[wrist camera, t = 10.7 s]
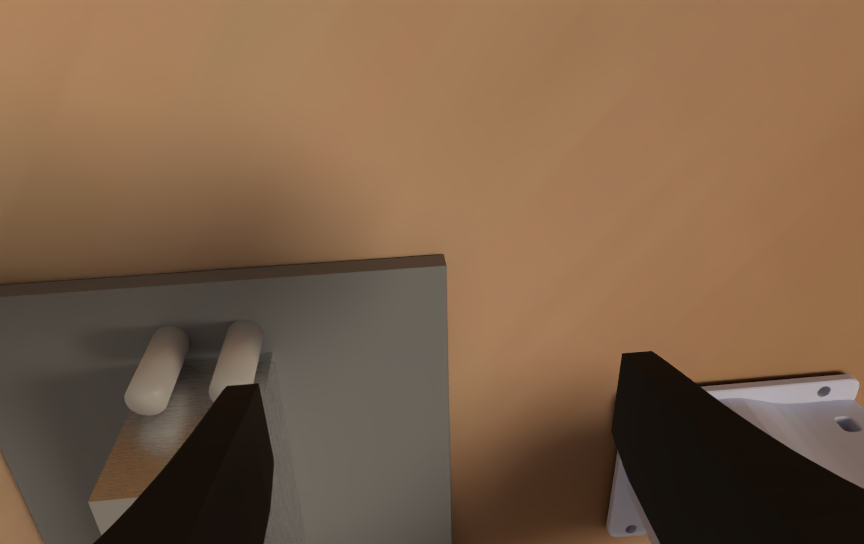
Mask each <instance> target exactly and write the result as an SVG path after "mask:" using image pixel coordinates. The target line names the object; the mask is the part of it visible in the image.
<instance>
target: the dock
mask: <svg viewBox="0 0 864 544" xmlns="http://www.w3.org/2000/svg"><path fill="white" fill-rule="evenodd" d="M267 352H273V356H274V361H275V367H276V372H277V378H278V384H279V389H280V395H281V400H282V406H283V412H284V417H285V423H286V428H287V434H288V440H289V445H290V451H291V456H292V462H293V468H294V473H295V479H296V484H297V490H298V496H299V501H300V507H301V512H302V518H303V524H304V529H305V535H306V540H307V544H452V537H451V484H450V431H449V378H448V325H447V272H446V262H445V258H444V254H443V255H429V256H414V257H400V258H385V259H371V260H356V261H342V262H327V263H313V264H299V265H284V266H270V267H255V268H241V269H226V270H212V271H197V272H183V273H168V274H154V275H140V276H125V277H111V278H96V279H82V280H67V281H53V282H38V283H24V284H9V285H0V449H1V451H2V453H3V455H4V458H5V460H6V462H7V464H8V466H9V468H10V470H11V473H12V475H13V477H14V479H15V481H16V483H17V485H18V487H19V490H20V492H21V494H22V496H23V498H24V500H25V502H26V504H27V507H28V509H29V511H30V513H31V515H32V517H33V519H34V521H35V524H36V526H37V528H38V530H39V532H40V534H41V536H42V539H43V541H44V543H45V544H93V543H94V542H95V541H96V540H97V539H98V538H99V537H100V536H101V533H100V531H99V528H98V526H97V523H96V521H95V518H94V516H93V513H92V511H91V508H90V506H89V503H88V501H89V499H90V497H91V494H92V492H93V490H94V488H95V486H96V483H97V481H98V479H99V477H100V475H101V473H102V470H103V468H104V466H105V464H106V462H107V460H108V457H109V455H110V453H111V451H112V449H113V446H114V444H115V442H116V440H117V438H118V436H119V433H120V431H121V429H122V427H123V425H124V422H125V420H126V418H127V416H128V414H129V412H130V409H131V410H132V411H134V412H136V413H138V414H141V415H147V416H150V415H156V414H159V413H161V412H162V411H163V410H164V409H165V408H166V406H167V404H168V401H169V399H170V396H171V394H172V391H173V389H174V386H175V383H176V381H177V378H178V376H179V373H180V371H181V368H182V365H183V363H184V360H185V359H190V358H203V357H216V356H219V358H218V362H217V365H216V368H215V371H214V374H213V377H212V381H211V384H210V387H209V396H210V398H211V400H212V401H213V402H214V401H215V400H216V399H217V397H218V396H219V395H220V393H221V392H222V391H223V389H224V388H225V387H226V386H231V385H243V384H253V383H254V378H255V374H256V369H257V365H258V360H259V356H260V353H267Z"/></svg>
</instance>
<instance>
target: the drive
mask: <svg viewBox="0 0 864 544" xmlns="http://www.w3.org/2000/svg"><path fill="white" fill-rule="evenodd" d="M218 358H219V356H216V357H203V358H190V359H185V360H184V363H183V365H182V368H181V371H180V373H179V376H178V378H177V381H176V383H175V386H174V389H173V391H172V394H171V396H170V399H169V401H168V404H167V406H166V408H165V409H164V410H163V411H162V412H161V413H159V414H156V415H150V416H147V415H141V414H138V413H136V412H134V411H132V410H131V409H130V412H129V414H128V416H127V418H126V420H125V422H124V425H123V427H122V429H121V431H120V433H119V436H118V438H117V440H116V442H115V444H114V446H113V449H112V451H111V453H110V455H109V457H108V460H107V462H106V464H105V466H104V468H103V470H102V473H101V475H100V477H99V479H98V481H97V483H96V486H95V488H94V490H93V492H92V494H91V497H90V499H89V501H88V503H89V506H90V508H91V511H92V513H93V516H94V518H95V521H96V523H97V526H98V528H99V531H100V533H101V535H102V534H103V533H104V532H106V531H107V530H108V529H109V528H110V527H111V526H112V525H113V524H114V523H115V521H116V520H117V519H118V518H119V517H120V516H121V515H122V514H123V513H124V512H125V511H126V510H127V509H128V508H129V507H130V506H131V505H132V504H133V503H134V501H135V500H136V499H137V498H138V497H139V496H140V495H141V493H142V492H143V491H144V490H145V489H146V488H147V487H148V485H149V484H150V483H151V482H152V481H153V480H154V479H155V477H156V476H157V475H158V474H159V473H160V472H161V471H162V469H163V468H164V467H165V466H166V465H167V463H168V462H169V461H170V460H171V458H172V457H173V456H174V454H175V453H176V452H177V451H178V449H179V448H180V447H181V446H182V444H183V443H184V442H185V441H186V439H187V438H188V437H189V435H190V434H191V433H192V431H193V430H194V429H195V427H196V426H197V425H198V423H199V422H200V421H201V419H202V418H203V417H204V415H205V414H206V413H207V411H208V410H209V408H210V407H211V406H212V404H213V403H214V402H213V401H212V400H211V398H210V396H209V387H210V384H211V381H212V377H213V374H214V371H215V368H216V365H217V362H218ZM255 383H259V386H260V392H261V397H262V402H263V407H264V412H265V417H266V422H267V427H268V432H269V437H270V442H271V447H272V452H273V457H274V472H273V486H272V497H271V509H270V515H269V520H268V525H267V530H266V535H265V540H264V544H307V540H306V535H305V529H304V524H303V518H302V512H301V507H300V501H299V496H298V490H297V484H296V479H295V473H294V468H293V462H292V456H291V451H290V445H289V440H288V434H287V428H286V423H285V417H284V412H283V406H282V400H281V395H280V389H279V384H278V378H277V372H276V367H275V361H274V356H273V352H267V353H260V356H259V360H258V365H257V369H256V374H255V378H254V383H253V384H255Z"/></svg>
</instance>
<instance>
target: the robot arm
mask: <svg viewBox="0 0 864 544" xmlns="http://www.w3.org/2000/svg"><path fill="white" fill-rule="evenodd" d="M819 389H820V390H819ZM858 389H859V382H858V380H856V379H855V378H854V377H853V376H852V375H850V374H842V375H830V376H818V377H807V378H795V379H783V380H772V381H760V382H749V383H737V384H725V385H714V386H702V387H700V386H699V385H697V384H696V383H695V382H693V381H692V380H691V379H689V378H688V377H687V376H685V375H684V374H683V373H681V372H680V371H679V370H677V369H676V368H675V367H673V366H672V365H671V364H669V363H668V362H666V361H665V360H664V359H662V358H661V357H660V356H658V355H657V354H655V353H654V352H652V351H648V352H635V353H623V354H622V359H621V366H620V373H619V380H618V387H617V394H616V401H615V409H614V416H613V423H612V430H611V431H612V434H613V437H614V441H615V444H616V447H617V450H618V451H617V457H616V464H615V471H614V477H613V484H612V491H611V498H610V504H609V511H608V518H607V524H606V526H607V530H608V532H609V534H610V535H611V536H613V537H627V536H637V535H646V534H647V535H648V537H649V539H650V541H651V543H652V544H864V409H863V408H862V407H861V406H860V405H859V404H858V403H857V402H856V401H855V397H856V394H857V392H858ZM273 472H274V457H273V452H272V447H271V442H270V437H269V432H268V427H267V422H266V417H265V412H264V407H263V402H262V397H261V392H260V386H259V383H255V384H243V385H231V386H226V387H225V388H224V389H223V391H222V392H221V393H220V395H219V396H218V397H217V399H216V400H215V401H214V403H213V404H212V406H211V407H210V408H209V410H208V411H207V413H206V414H205V415H204V417H203V418H202V419H201V421H200V422H199V423H198V425H197V426H196V427H195V429H194V430H193V431H192V433H191V434H190V435H189V437H188V438H187V439H186V441H185V442H184V443H183V444H182V446H181V447H180V448H179V449H178V451H177V452H176V453H175V454H174V456H173V457H172V458H171V460H170V461H169V462H168V463H167V465H166V466H165V467H164V468H163V469H162V471H161V472H160V473H159V474H158V475H157V476H156V477H155V479H154V480H153V481H152V482H151V483H150V484H149V485H148V487H147V488H146V489H145V490H144V491H143V492H142V493H141V495H140V496H139V497H138V498H137V499H136V500H135V501H134V503H133V504H132V505H131V506H130V507H129V508H128V509H127V510H126V511H125V512H124V513H123V514H122V515H121V516H120V517H119V518H118V519H117V520H116V521H115V523H114V524H113V525H112V526H111V527H110V528H109V529H108V530H107V531H106V532H104V533H103V534H102V535H101V536H100V537H99V538H98V539H97V540H96V541H95V542H94V543H93V544H264V540H265V535H266V530H267V525H268V520H269V515H270V509H271V497H272V486H273Z"/></svg>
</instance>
